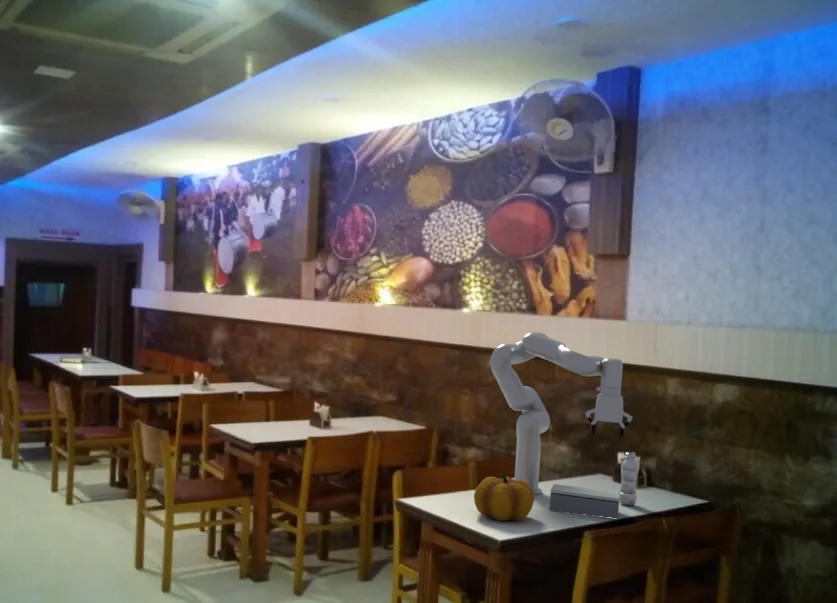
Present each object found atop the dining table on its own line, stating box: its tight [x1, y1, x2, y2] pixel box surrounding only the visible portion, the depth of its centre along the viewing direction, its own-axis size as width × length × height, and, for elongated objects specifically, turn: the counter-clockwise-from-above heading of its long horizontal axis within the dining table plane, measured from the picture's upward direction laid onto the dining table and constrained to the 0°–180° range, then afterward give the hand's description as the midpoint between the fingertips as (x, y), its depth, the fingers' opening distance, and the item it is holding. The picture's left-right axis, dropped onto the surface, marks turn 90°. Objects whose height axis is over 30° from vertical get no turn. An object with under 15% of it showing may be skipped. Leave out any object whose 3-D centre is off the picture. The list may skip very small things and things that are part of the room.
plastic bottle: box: [619, 451, 639, 506], centre depth 297 cm, size 6×7×20 cm
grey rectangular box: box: [549, 492, 620, 520], centre depth 283 cm, size 24×12×6 cm, turn 74°
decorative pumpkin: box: [473, 473, 535, 522], centre depth 267 cm, size 20×22×15 cm
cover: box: [550, 483, 620, 503], centre depth 283 cm, size 24×12×1 cm, turn 74°
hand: (607, 436), depth 292 cm, fingers open, 9 cm apart
